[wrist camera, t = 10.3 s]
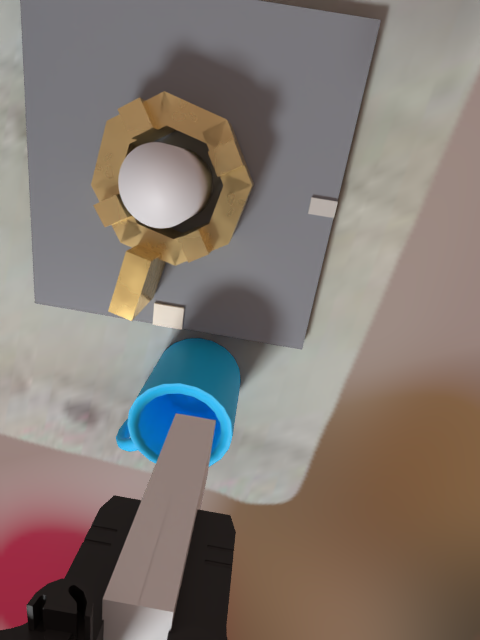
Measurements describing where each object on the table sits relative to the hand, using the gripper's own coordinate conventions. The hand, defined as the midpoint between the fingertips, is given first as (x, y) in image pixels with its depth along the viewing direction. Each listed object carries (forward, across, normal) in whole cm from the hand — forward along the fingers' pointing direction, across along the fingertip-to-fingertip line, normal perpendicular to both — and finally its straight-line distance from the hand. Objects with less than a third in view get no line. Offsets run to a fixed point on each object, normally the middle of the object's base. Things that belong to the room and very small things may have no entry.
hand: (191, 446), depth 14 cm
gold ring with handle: (+19, -6, +6) cm, 21 cm away
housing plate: (+20, -6, +8) cm, 23 cm away
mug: (+21, -4, -10) cm, 24 cm away
